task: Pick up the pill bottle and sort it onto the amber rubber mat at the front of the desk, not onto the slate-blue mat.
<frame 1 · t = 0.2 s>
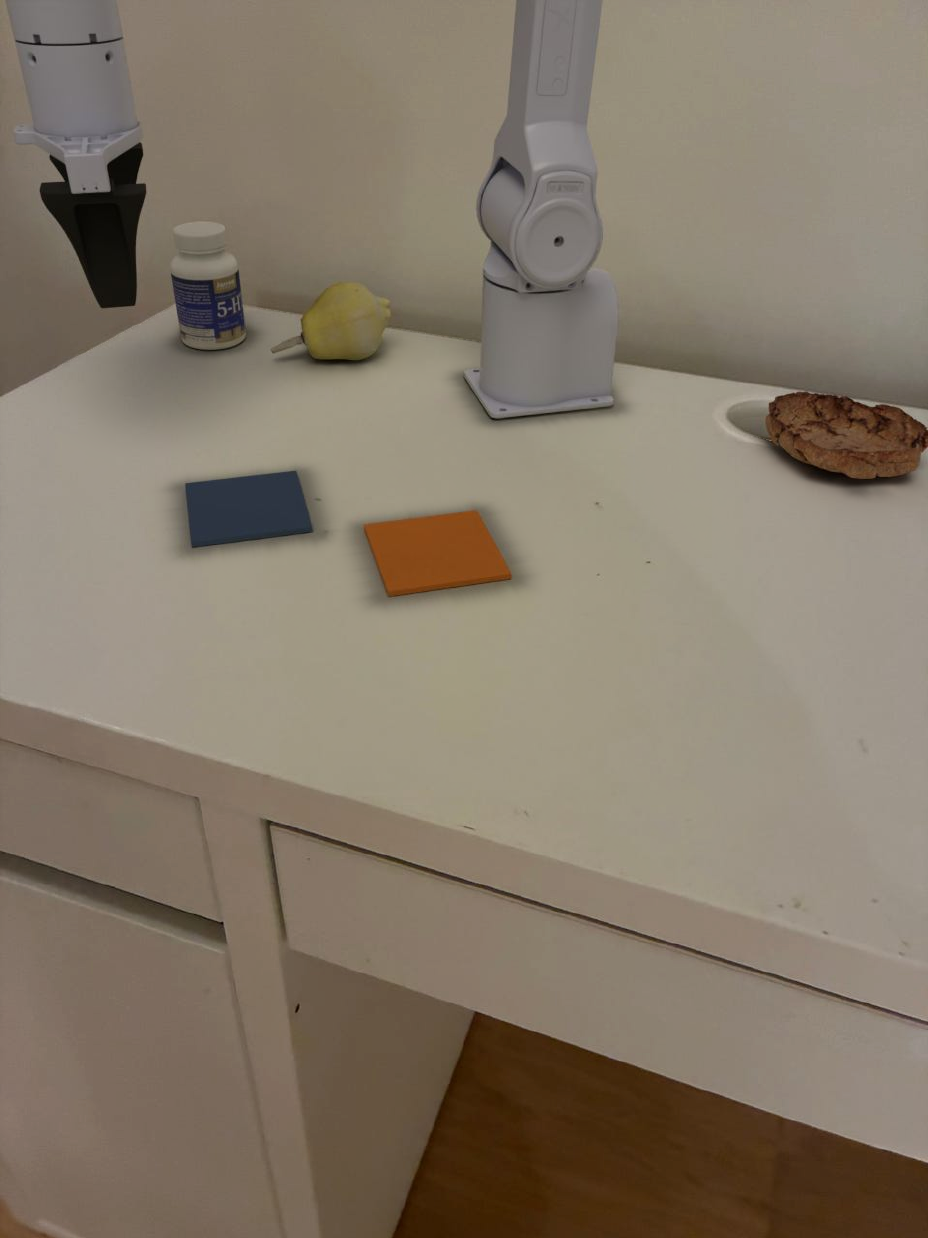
hand: (118, 284, 63), 10 cm above the table, tool pointing down, fingers open, 7 cm apart
blue mat: (247, 509, 61), on the table
amber mat: (435, 553, 57), on the table
cookie: (849, 412, 66), point 3 cm above the table
fruit: (334, 359, 80), on the table
pill bottle: (214, 341, 82), on the table
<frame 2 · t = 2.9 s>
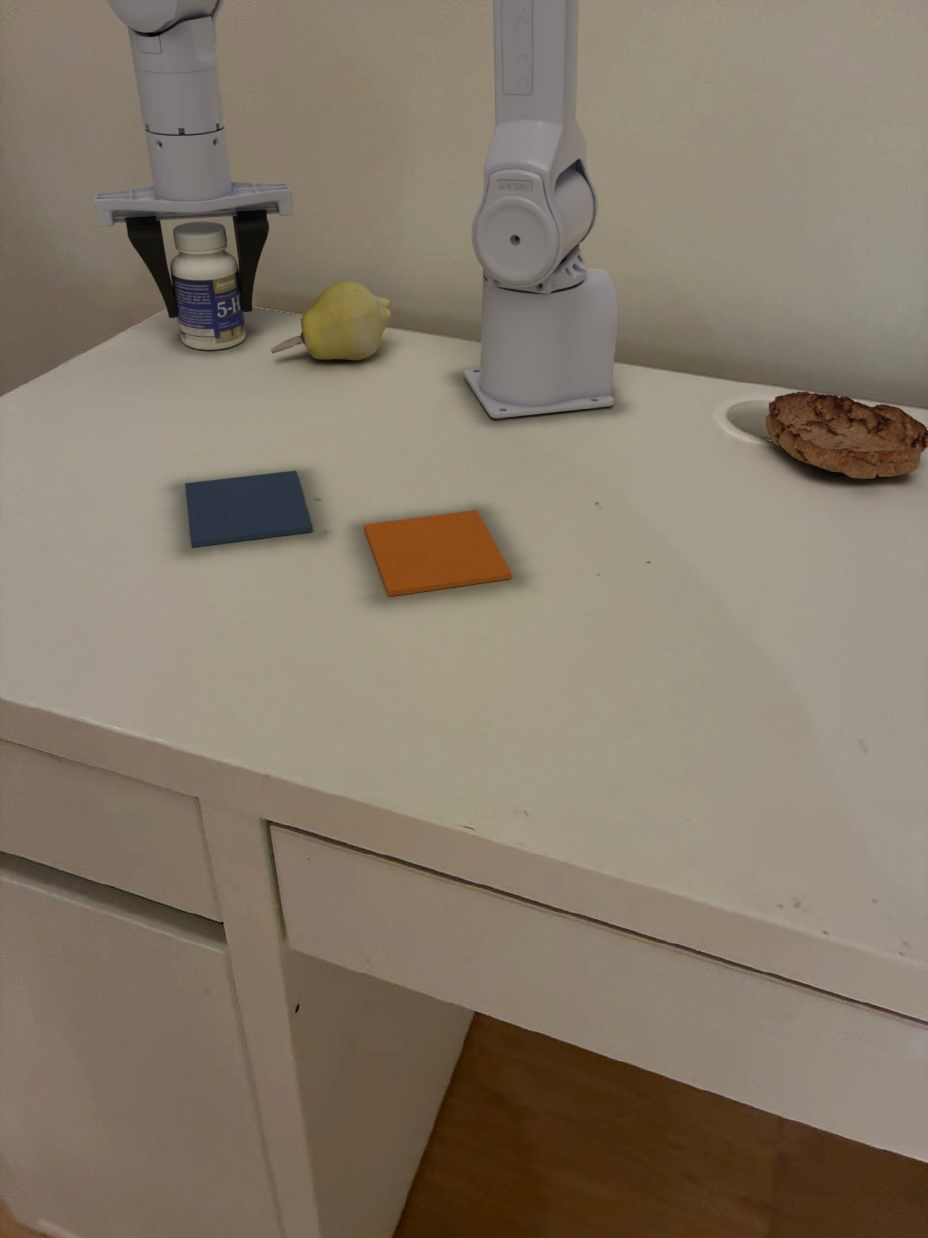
hand: (210, 310, 81), 2 cm above the table, tool pointing down, fingers closed on pill bottle, 5 cm apart
pill bottle: (214, 341, 82), on the table, touching gripper
everything else where it was.
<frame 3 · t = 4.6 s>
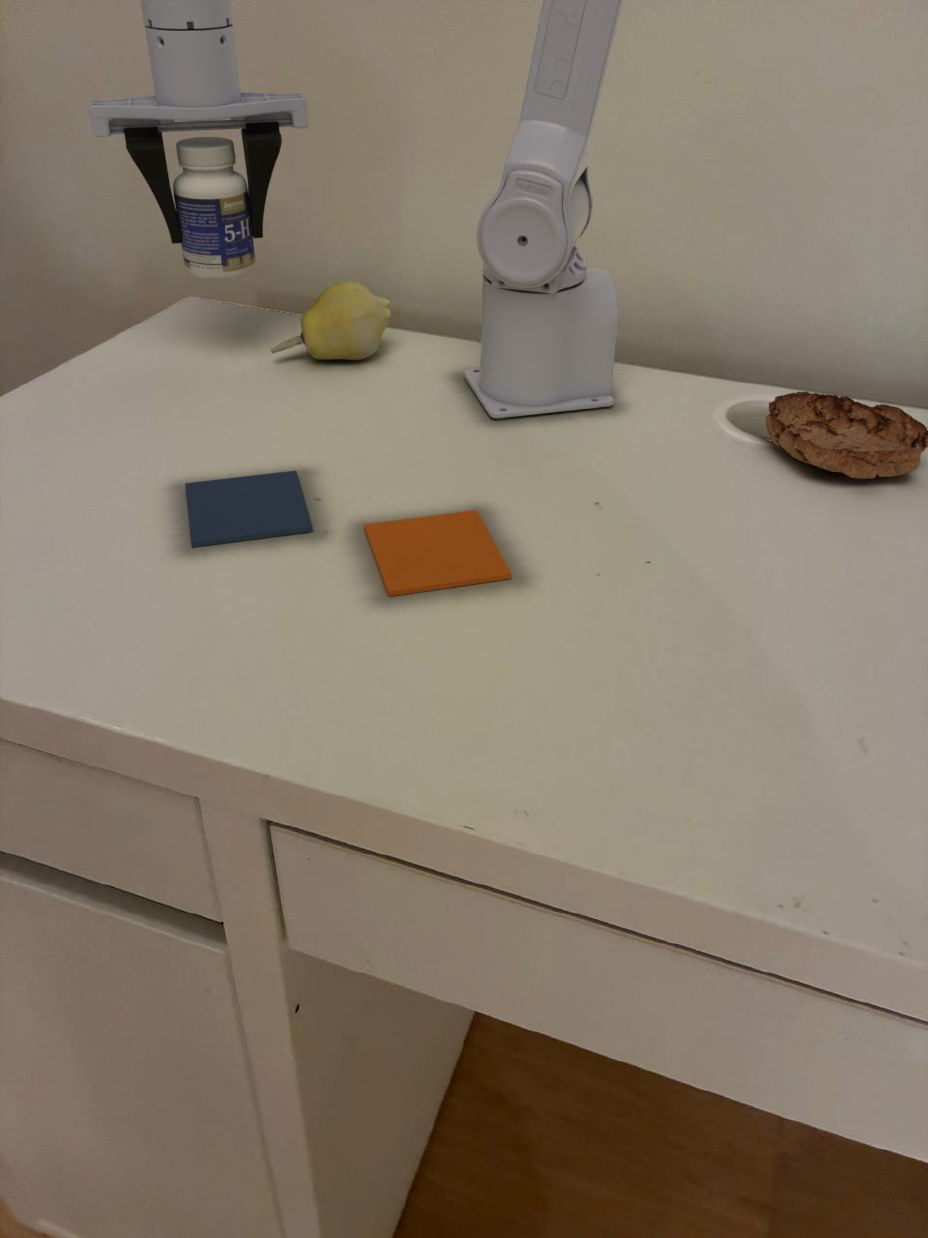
hand: (217, 236, 74), 9 cm above the table, tool pointing down, fingers closed on pill bottle, 5 cm apart
pill bottle: (221, 272, 75), point 7 cm above the table, touching gripper
everything else where it was.
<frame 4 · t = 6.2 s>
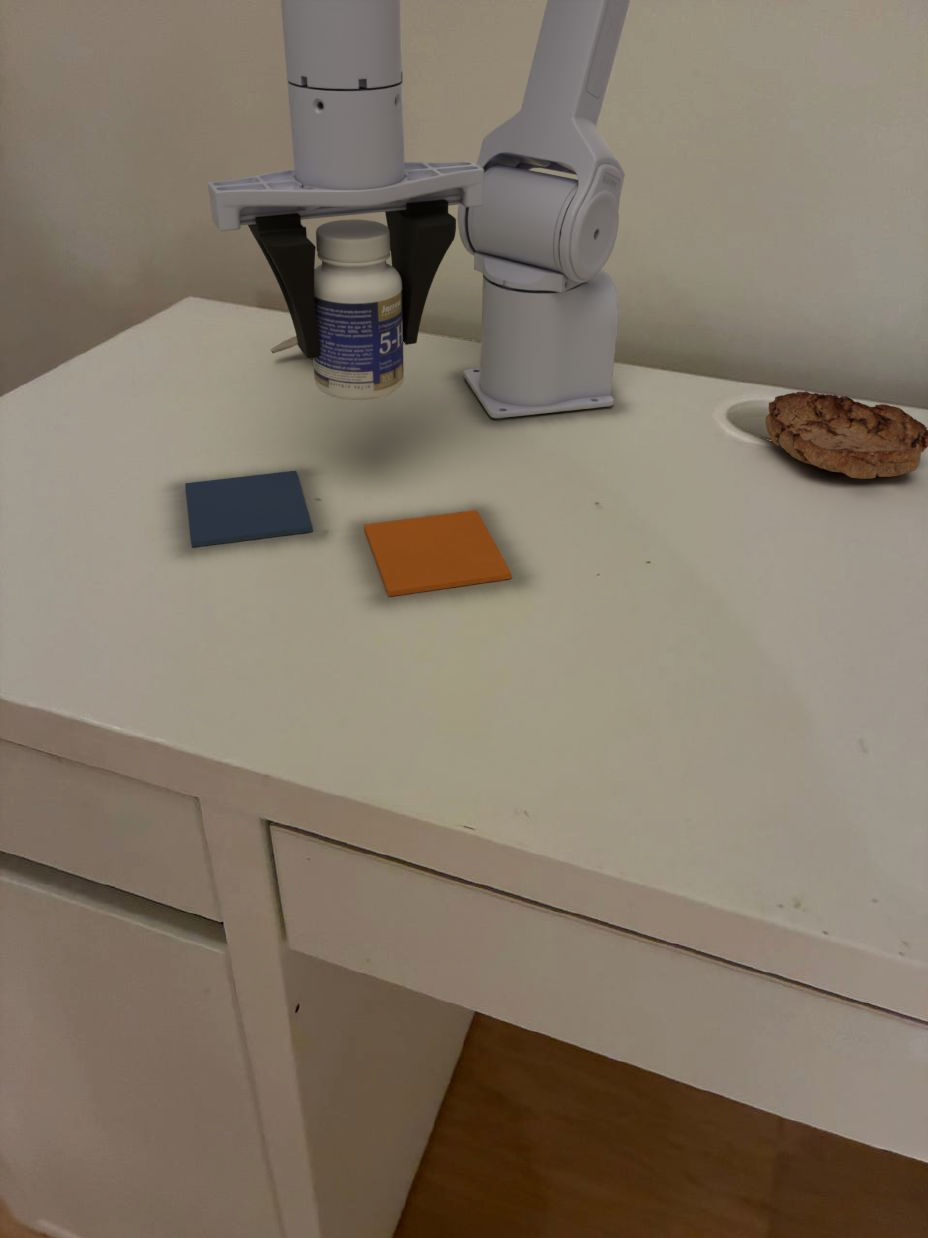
hand: (358, 344, 57), 9 cm above the table, tool pointing down, fingers closed on pill bottle, 5 cm apart
pill bottle: (360, 386, 59), point 7 cm above the table, touching gripper
everything else where it was.
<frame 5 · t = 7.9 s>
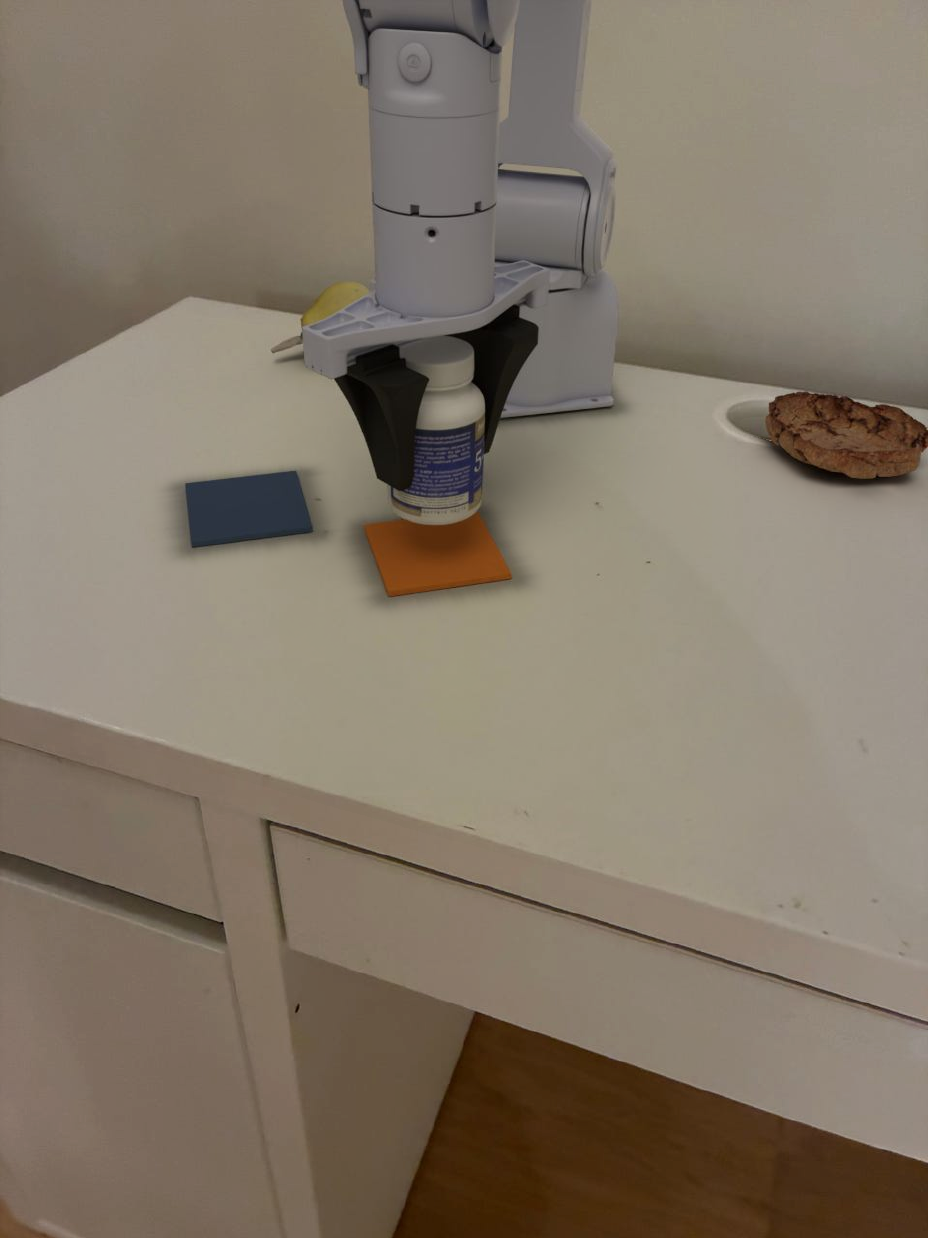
hand: (435, 464, 54), 6 cm above the table, tool pointing down, fingers closed on pill bottle, 5 cm apart
pill bottle: (434, 505, 55), point 3 cm above the table, touching gripper
everything else where it was.
when the fingers open (3 cm above the table, at t = 9.4 s): pill bottle stays where it is, resting on amber mat.
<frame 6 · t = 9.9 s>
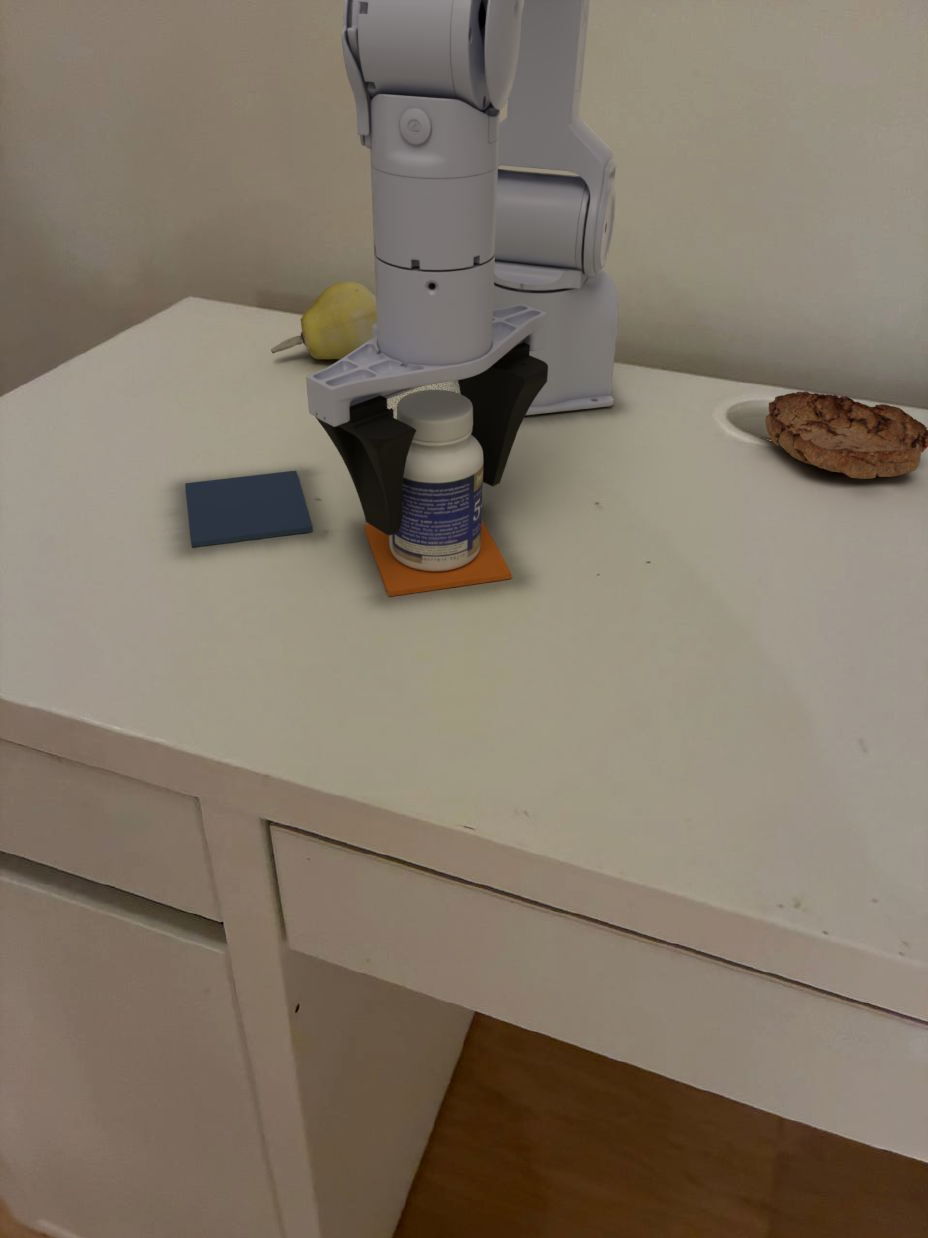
hand: (435, 501, 55), 3 cm above the table, tool pointing down, fingers open, 7 cm apart
pill bottle: (435, 551, 57), resting on amber mat
everything else where it was.
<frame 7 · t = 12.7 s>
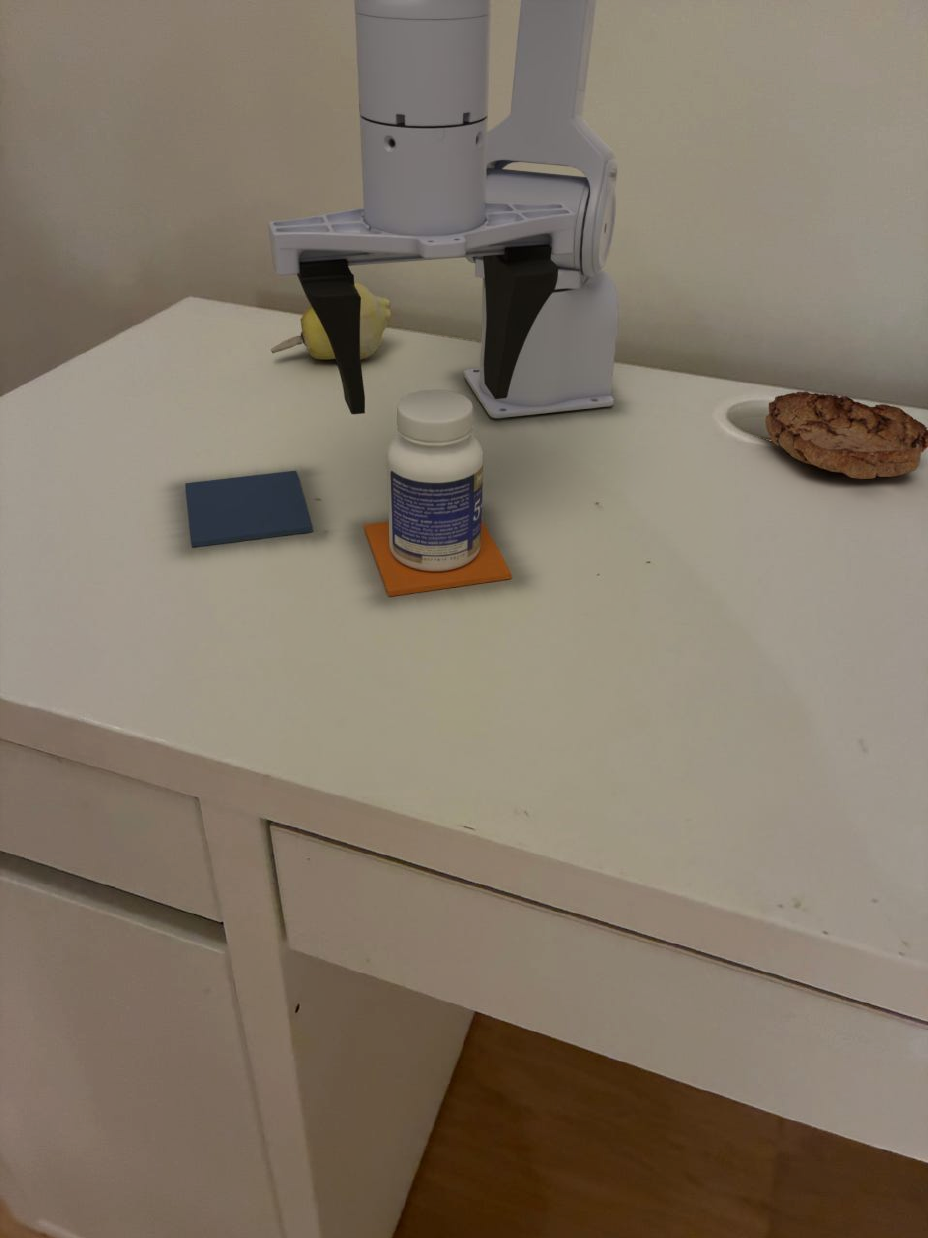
hand: (426, 398, 52), 9 cm above the table, tool pointing down, fingers open, 7 cm apart
nothing on the table moved.
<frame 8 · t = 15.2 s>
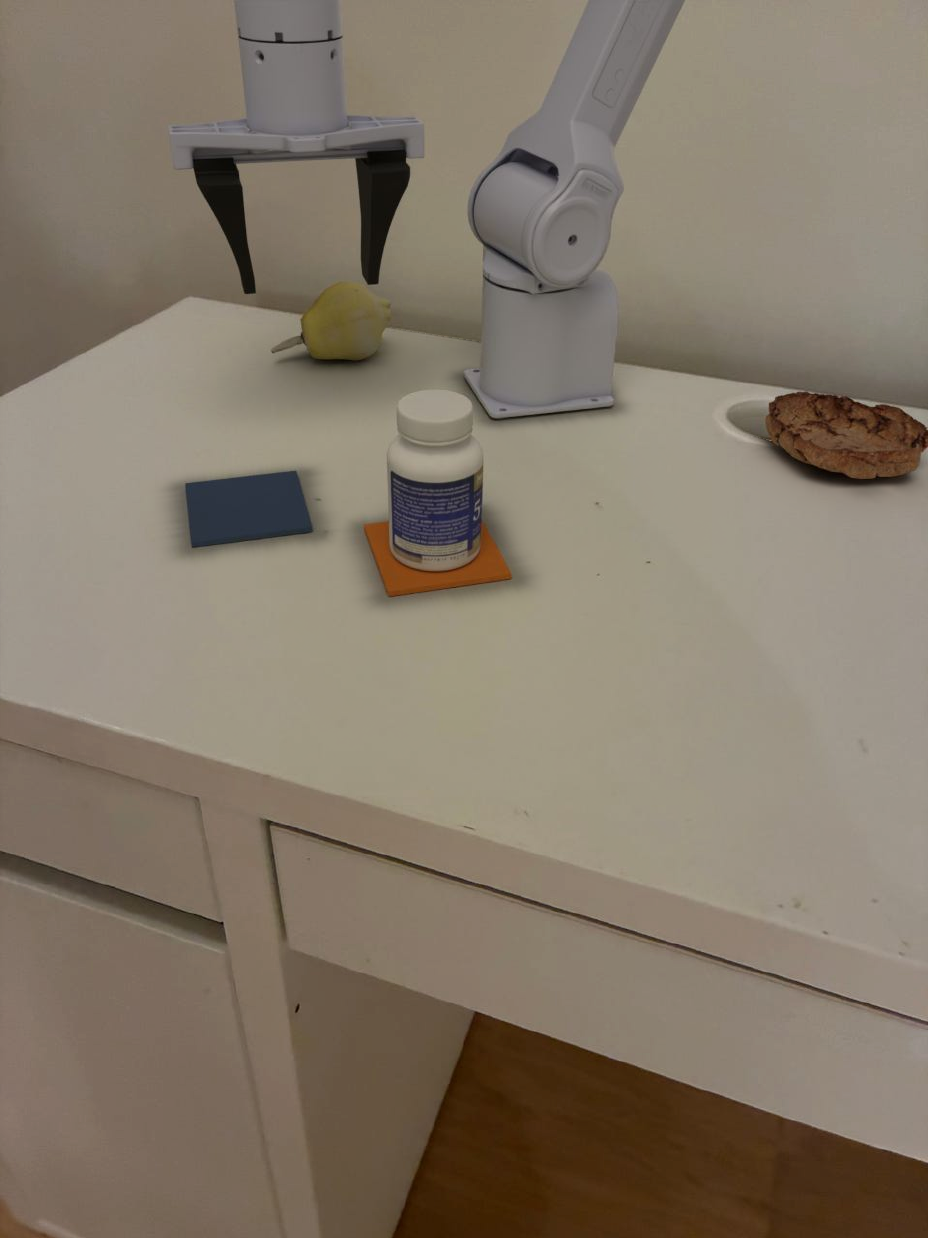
hand: (310, 284, 63), 10 cm above the table, tool pointing down, fingers open, 7 cm apart
nothing on the table moved.
at the end: pill bottle 0.0 cm off-centre on the amber mat, point 0.2 cm above the amber mat's base; pill bottle tilted 0°; pill bottle touching amber mat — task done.
